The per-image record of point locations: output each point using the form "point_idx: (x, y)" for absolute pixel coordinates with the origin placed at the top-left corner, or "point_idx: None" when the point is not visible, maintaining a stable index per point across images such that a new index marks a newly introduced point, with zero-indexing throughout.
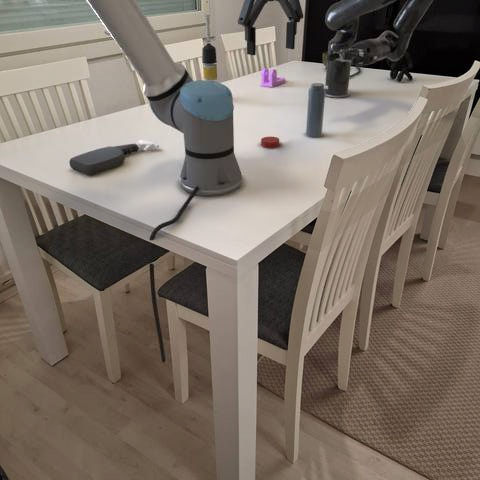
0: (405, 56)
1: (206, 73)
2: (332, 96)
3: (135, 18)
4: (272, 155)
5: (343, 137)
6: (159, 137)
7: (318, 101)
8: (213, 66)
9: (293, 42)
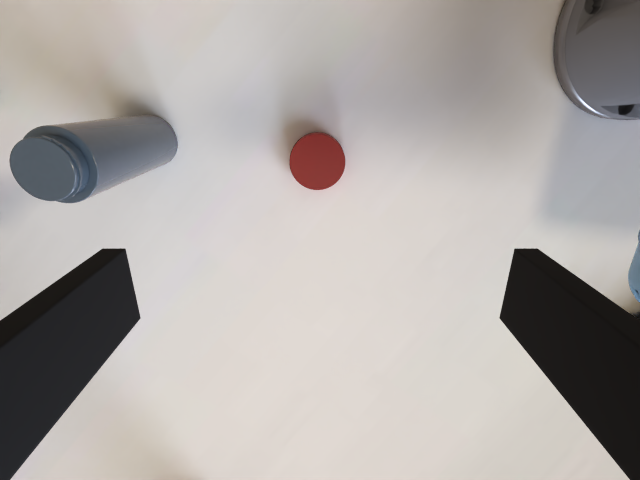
0: None
1: None
2: None
3: None
4: (369, 87)
5: (80, 57)
6: (489, 374)
7: (97, 127)
8: None
9: (85, 272)
